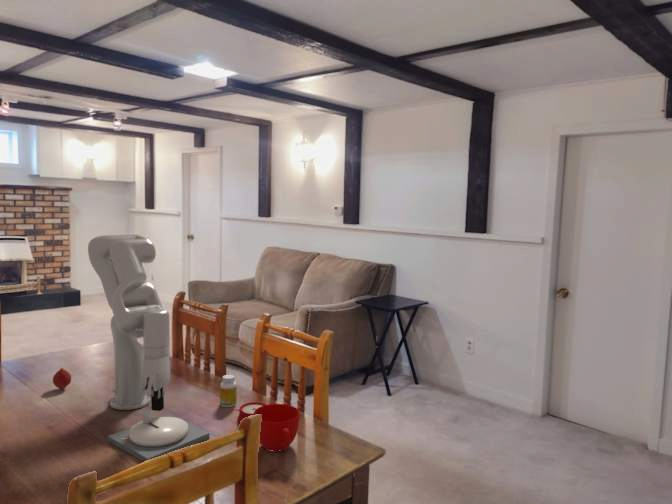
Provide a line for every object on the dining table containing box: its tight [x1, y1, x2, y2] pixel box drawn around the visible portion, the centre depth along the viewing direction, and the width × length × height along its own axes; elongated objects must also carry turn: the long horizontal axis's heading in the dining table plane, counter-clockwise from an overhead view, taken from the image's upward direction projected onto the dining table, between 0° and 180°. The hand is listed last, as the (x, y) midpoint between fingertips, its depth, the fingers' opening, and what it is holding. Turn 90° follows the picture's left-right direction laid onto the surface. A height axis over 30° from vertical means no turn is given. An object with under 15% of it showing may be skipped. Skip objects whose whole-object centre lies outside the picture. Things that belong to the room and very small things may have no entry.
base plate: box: [107, 413, 210, 462], centre depth 151 cm, size 20×20×2 cm
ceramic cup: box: [254, 403, 301, 451], centre depth 147 cm, size 13×17×10 cm
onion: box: [52, 367, 72, 390], centre depth 187 cm, size 6×6×8 cm
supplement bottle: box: [219, 374, 238, 408], centre depth 178 cm, size 5×5×10 cm
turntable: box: [129, 405, 188, 447], centre depth 151 cm, size 16×16×6 cm
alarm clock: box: [232, 401, 267, 424], centre depth 165 cm, size 10×6×15 cm
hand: (157, 409), depth 160 cm, fingers closed
